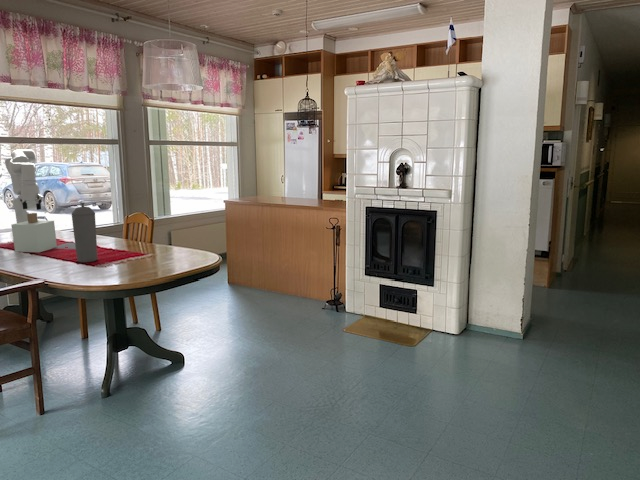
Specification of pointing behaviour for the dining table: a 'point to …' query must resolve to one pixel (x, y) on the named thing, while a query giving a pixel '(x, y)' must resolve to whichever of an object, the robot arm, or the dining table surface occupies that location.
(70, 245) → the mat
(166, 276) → the dining table surface
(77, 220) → the canister
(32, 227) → the cover
